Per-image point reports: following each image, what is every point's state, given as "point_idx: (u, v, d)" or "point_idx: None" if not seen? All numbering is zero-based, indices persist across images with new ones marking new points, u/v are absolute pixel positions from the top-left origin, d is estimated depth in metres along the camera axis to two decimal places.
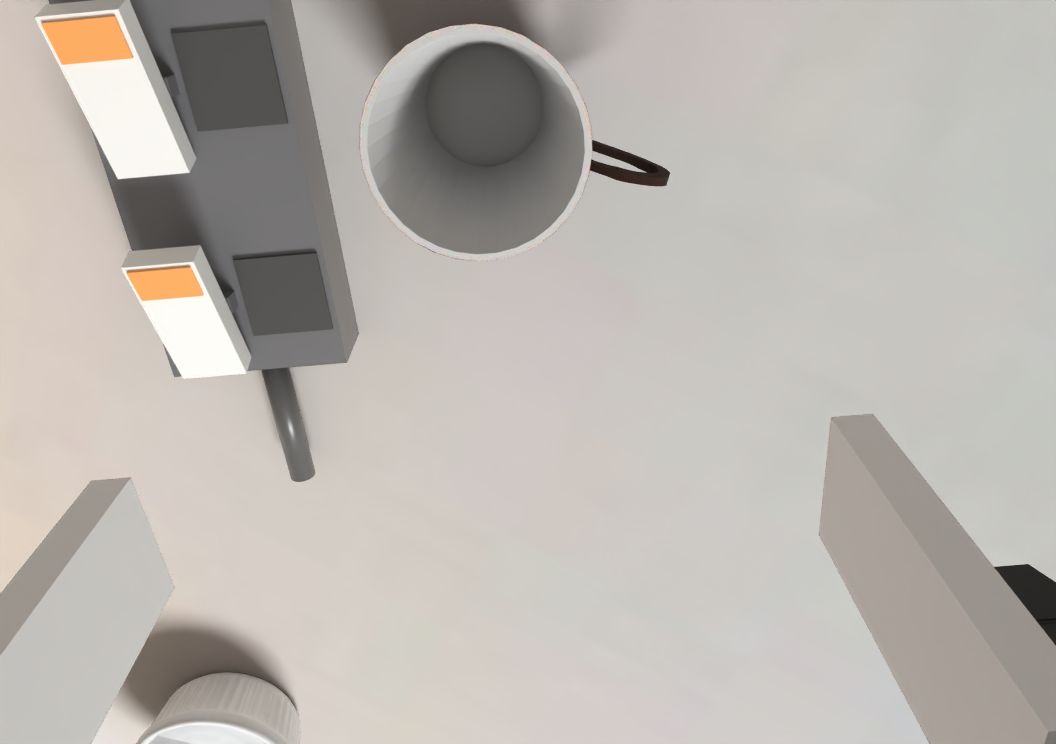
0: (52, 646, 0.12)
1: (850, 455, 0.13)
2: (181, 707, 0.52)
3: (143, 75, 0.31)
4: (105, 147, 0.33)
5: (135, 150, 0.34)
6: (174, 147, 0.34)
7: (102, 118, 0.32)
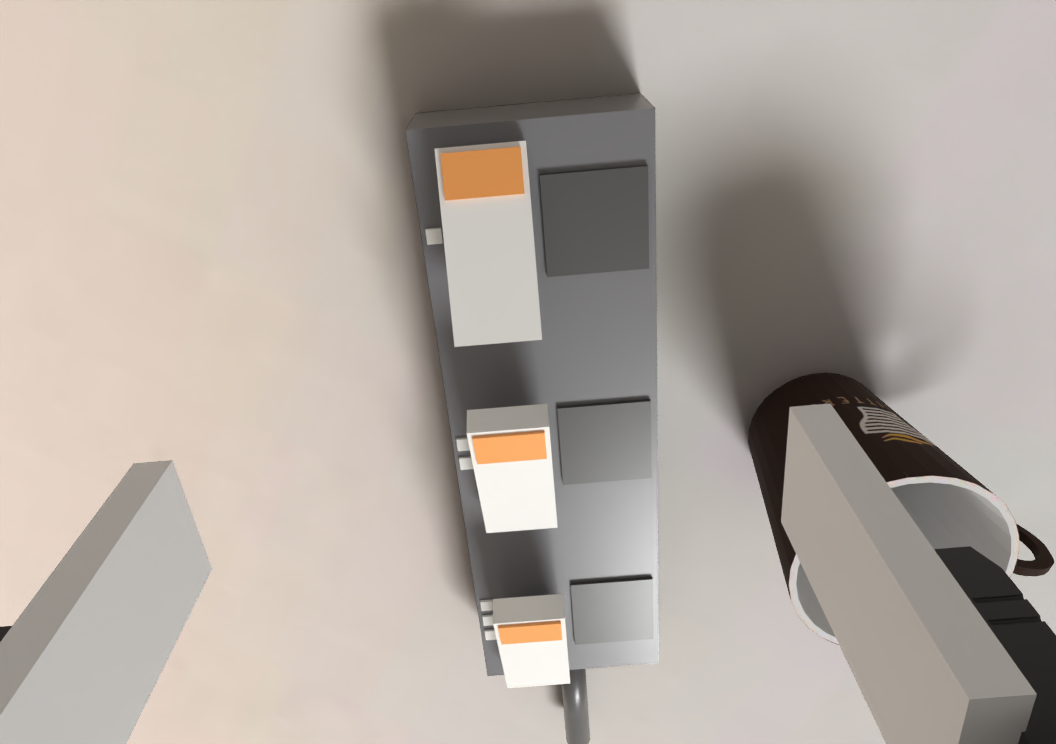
0: (105, 620, 0.12)
1: (805, 442, 0.14)
2: None
3: (548, 467, 0.32)
4: (486, 513, 0.34)
5: (514, 514, 0.34)
6: (552, 511, 0.34)
7: (493, 495, 0.33)
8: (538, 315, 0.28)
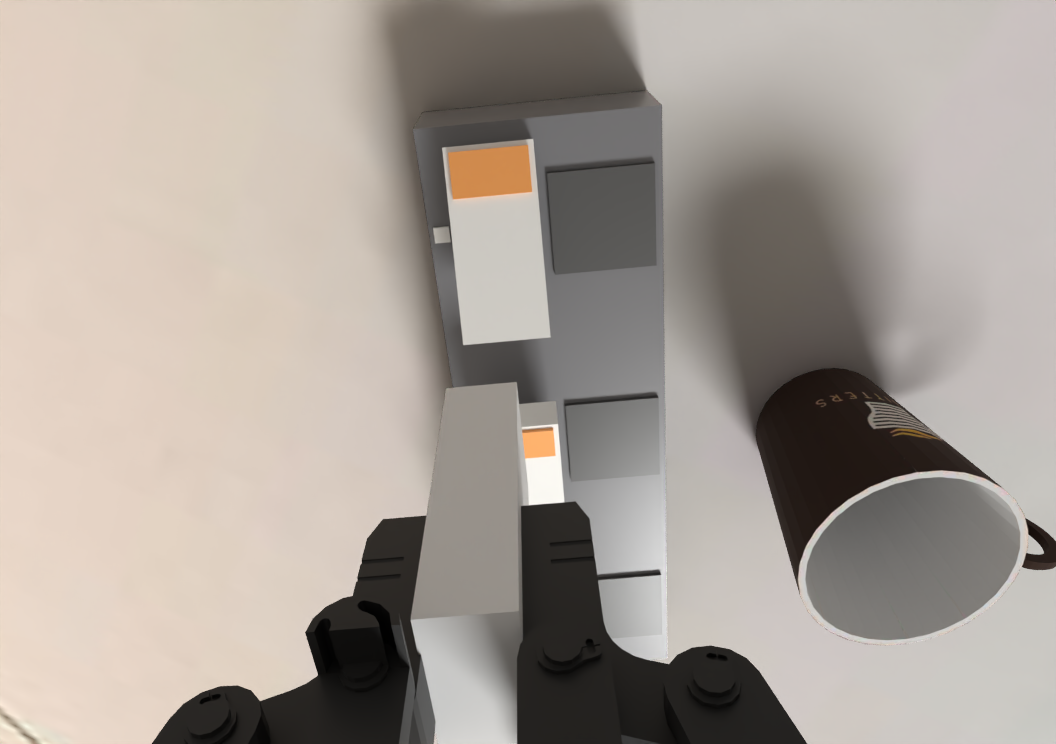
0: None
1: (479, 415, 0.16)
2: None
3: (557, 464, 0.32)
4: None
5: None
6: None
7: None
8: (546, 313, 0.28)
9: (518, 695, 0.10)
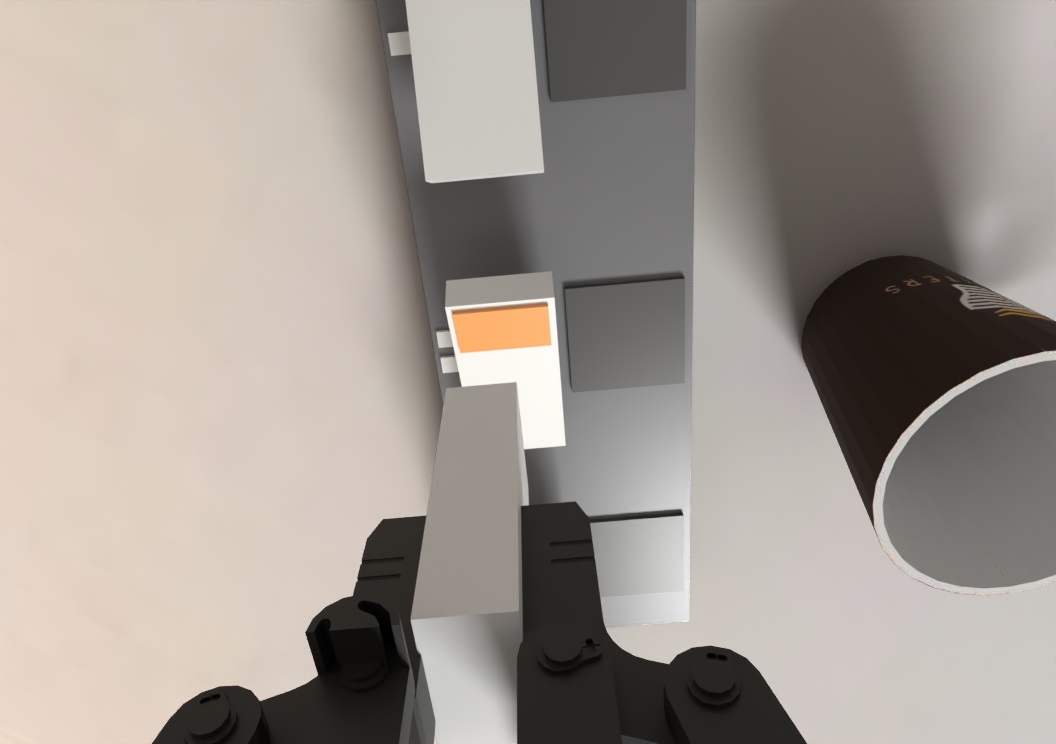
0: None
1: (480, 415, 0.16)
2: None
3: (554, 358, 0.25)
4: None
5: None
6: (558, 423, 0.27)
7: None
8: (538, 135, 0.21)
9: (518, 695, 0.10)
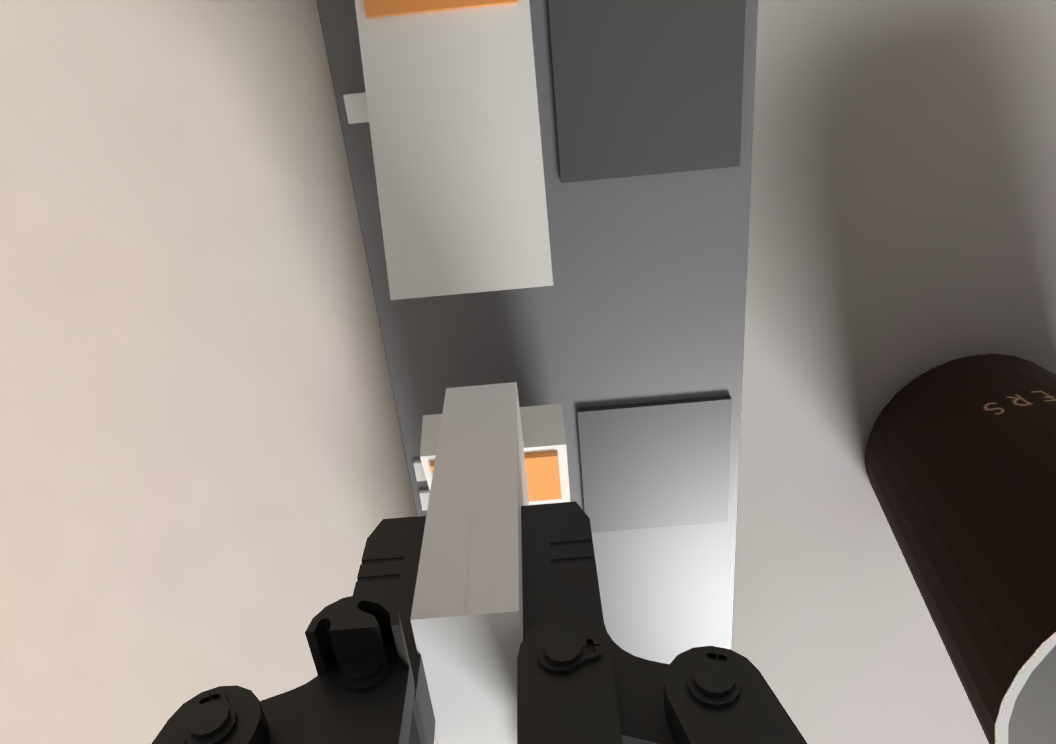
0: None
1: (480, 416, 0.16)
2: None
3: None
4: None
5: None
6: None
7: None
8: (546, 239, 0.15)
9: (518, 695, 0.10)
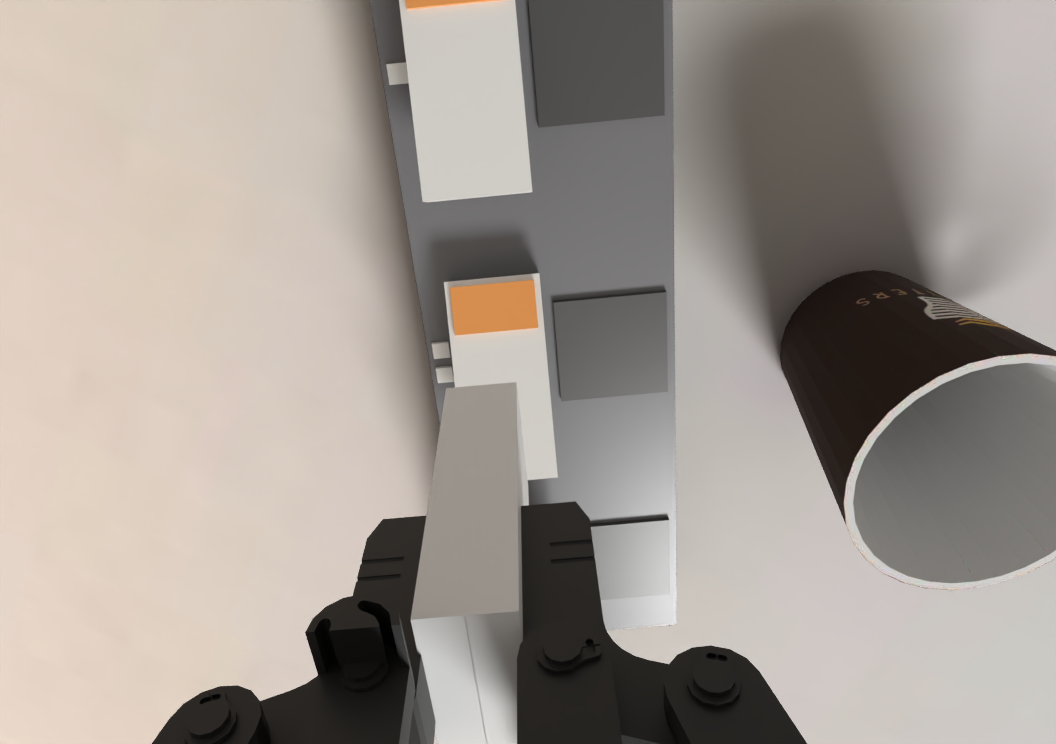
0: None
1: (480, 415, 0.16)
2: None
3: (541, 350, 0.27)
4: None
5: None
6: (549, 441, 0.27)
7: None
8: (527, 159, 0.23)
9: (518, 695, 0.10)
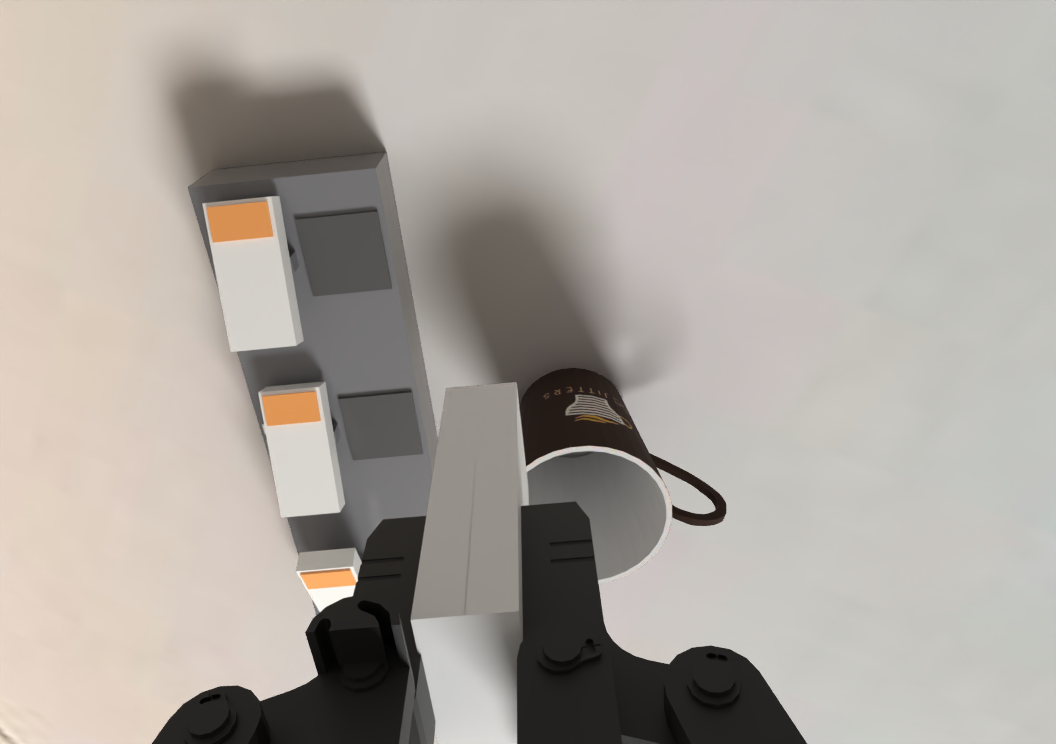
0: None
1: (480, 415, 0.16)
2: None
3: (324, 434, 0.41)
4: (279, 490, 0.42)
5: (302, 493, 0.42)
6: (333, 490, 0.42)
7: (283, 467, 0.42)
8: (291, 327, 0.37)
9: (518, 695, 0.10)
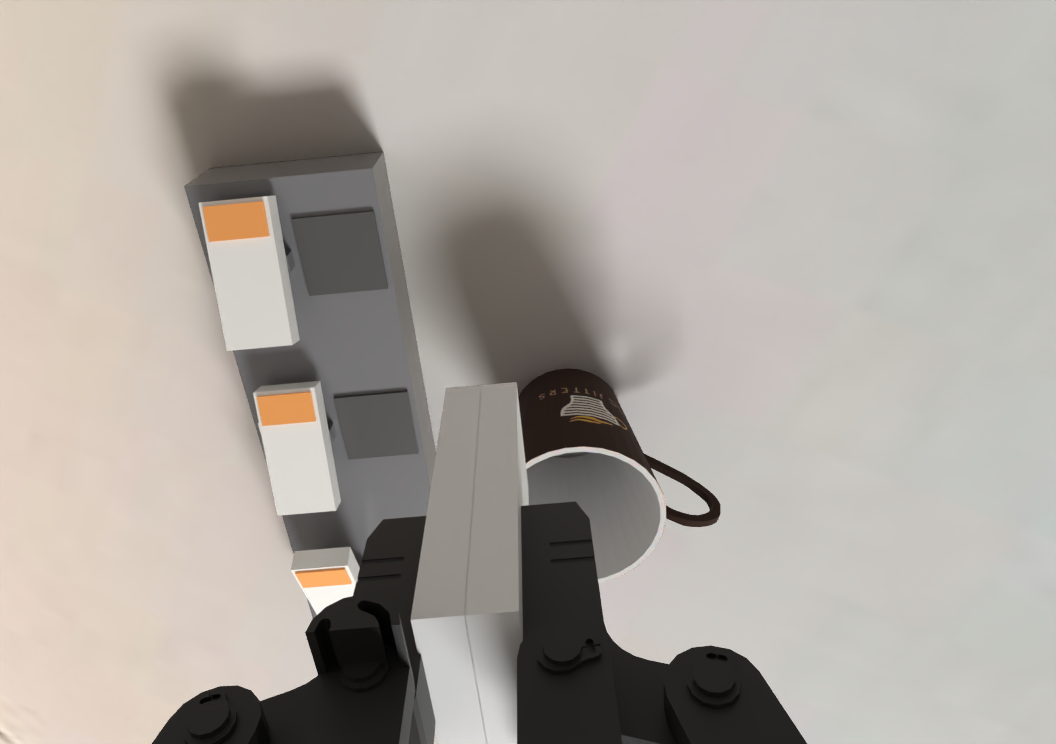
0: None
1: (479, 415, 0.16)
2: None
3: (319, 434, 0.41)
4: (274, 489, 0.42)
5: (297, 492, 0.42)
6: (329, 489, 0.42)
7: (279, 466, 0.42)
8: (288, 327, 0.37)
9: (518, 695, 0.10)
